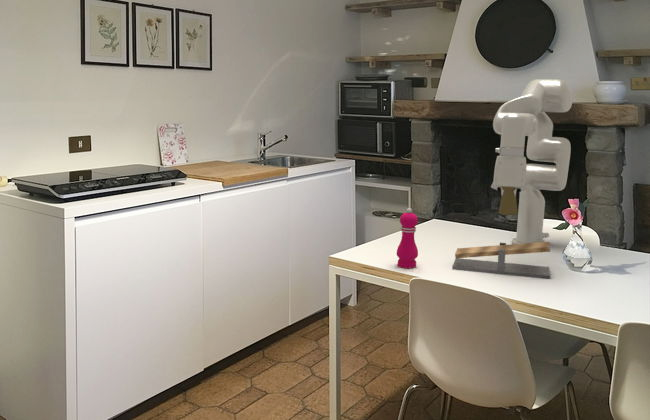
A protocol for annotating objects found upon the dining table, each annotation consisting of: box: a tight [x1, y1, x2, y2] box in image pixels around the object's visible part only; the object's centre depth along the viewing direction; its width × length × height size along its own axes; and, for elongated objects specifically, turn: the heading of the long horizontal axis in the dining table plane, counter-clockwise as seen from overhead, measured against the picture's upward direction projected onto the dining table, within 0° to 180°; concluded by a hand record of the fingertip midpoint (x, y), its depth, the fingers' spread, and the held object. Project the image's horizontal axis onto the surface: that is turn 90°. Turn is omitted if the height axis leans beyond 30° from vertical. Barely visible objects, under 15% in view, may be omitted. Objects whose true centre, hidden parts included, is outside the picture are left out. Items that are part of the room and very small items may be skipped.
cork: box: [498, 187, 518, 216], centre depth 206 cm, size 6×6×11 cm
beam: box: [454, 241, 551, 259], centre depth 206 cm, size 30×8×2 cm, turn 72°
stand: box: [451, 242, 551, 280], centre depth 207 cm, size 31×11×8 cm, turn 73°
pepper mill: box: [396, 207, 419, 269], centre depth 208 cm, size 7×7×20 cm
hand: (507, 207), depth 206 cm, fingers closed on cork, 1 cm apart
